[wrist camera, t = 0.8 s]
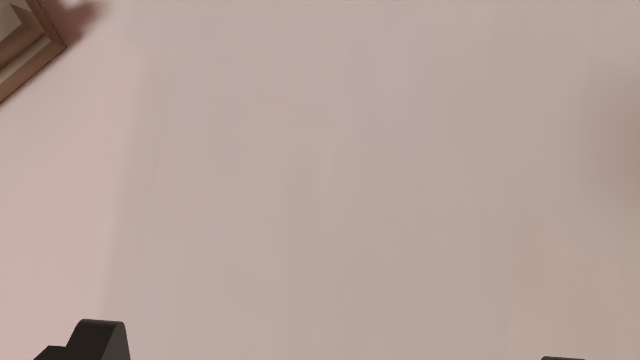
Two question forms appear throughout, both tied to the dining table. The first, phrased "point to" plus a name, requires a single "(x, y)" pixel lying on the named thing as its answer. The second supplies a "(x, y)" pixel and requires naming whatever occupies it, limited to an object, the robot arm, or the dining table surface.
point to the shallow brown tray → (24, 43)
